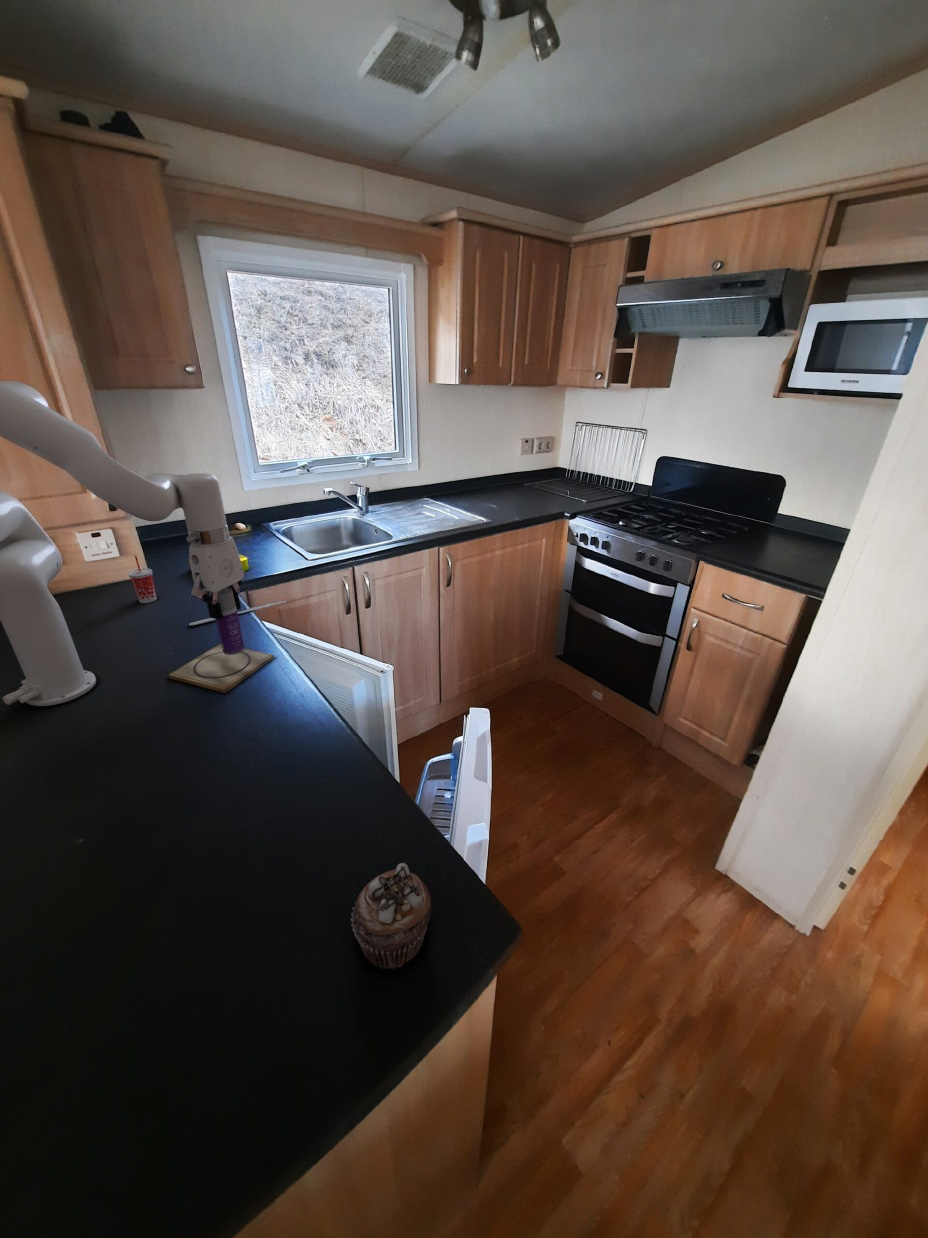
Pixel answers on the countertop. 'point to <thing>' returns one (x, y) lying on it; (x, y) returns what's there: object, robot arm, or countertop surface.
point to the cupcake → (392, 917)
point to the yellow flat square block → (243, 562)
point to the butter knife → (237, 612)
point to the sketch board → (221, 668)
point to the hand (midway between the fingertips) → (225, 612)
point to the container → (229, 623)
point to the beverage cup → (143, 584)
